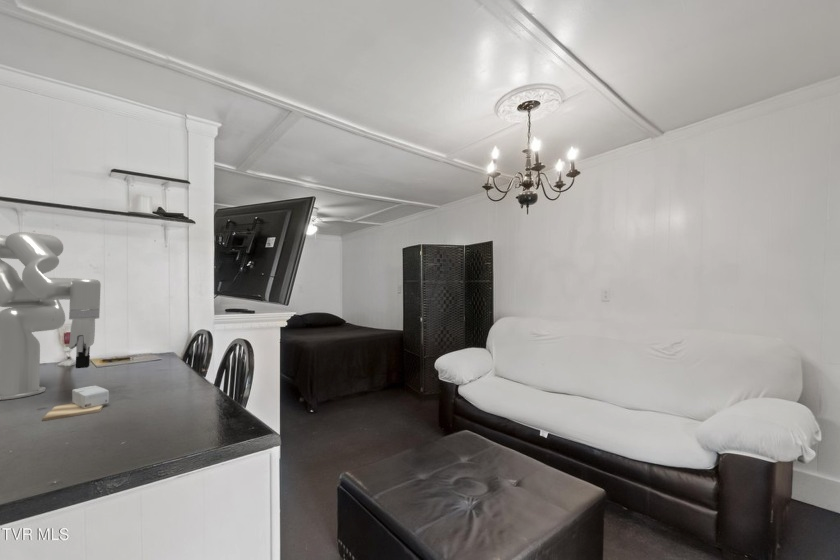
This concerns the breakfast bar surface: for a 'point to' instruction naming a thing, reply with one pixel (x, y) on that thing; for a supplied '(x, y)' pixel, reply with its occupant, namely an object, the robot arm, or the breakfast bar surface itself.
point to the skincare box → (90, 396)
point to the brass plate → (69, 411)
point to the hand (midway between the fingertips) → (82, 367)
